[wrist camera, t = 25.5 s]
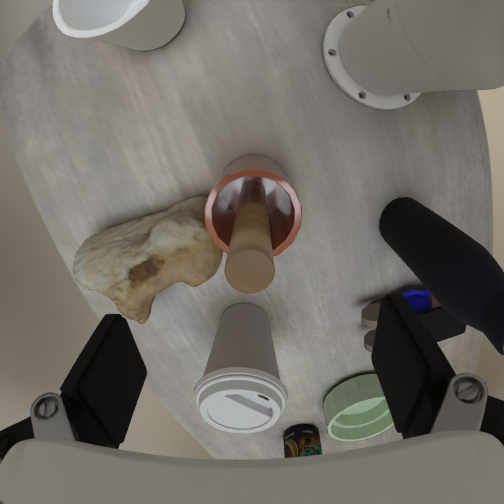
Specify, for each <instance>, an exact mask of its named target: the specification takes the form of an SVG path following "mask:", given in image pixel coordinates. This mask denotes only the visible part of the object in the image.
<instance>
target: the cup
mask: <svg viewBox="0 0 504 504" xmlns="http://www.w3.org/2000/svg"><path fill="white" fill-rule="evenodd" d="M53 18H54V20H55V22H56V24H57V27H58V28H59V29H60V30H61V31H62V32H63V33H64V34H65V35H69V36H72V37H75V38H82V39H87V40H93V41H98V42H103V43H108V44H113V45H117V46H122V47H126V48H130V49H134V50H140V51H148V50H153V49H156V48H159V47H162V46H163V45H165V44H166V43H168V42H169V41H171V40H172V39H174V38H175V37H176V36H177V34H178V33H179V31H180V29H181V27H182V25H183V23H184V20H185V11H184V6H183V3H182V1H181V0H54V2H53Z"/></svg>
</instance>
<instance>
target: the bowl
mask: <svg viewBox="0 0 504 504" xmlns="http://www.w3.org/2000/svg"><path fill="white" fill-rule="evenodd" d="M323 408H324V414H325V420H326V425H327V431H328V434H329V435H330V436H331V437H332V438H334V439H337V440H340V441H357V440H362V439H366V438H370V437H372V436H375V435H377V434H379V433H381V432H383V431H385V430H386V429H388V428H390V427H391V426H392V425H393V424H394V422H393V419H392V416H391V413H390V410H389V408H388V405H387V402H386V399H385V396H384V393H383V391H382V388H381V385H380V382H379V380H378V377H377V374H365V375H361V376H357V377H354V378H351V379H349V380H347V381H345V382H343V383H341V384H340V385H338V386H337V387H335V388H334V389H333V390H332V391H331V392H330V393H329V394H328V395H327V396H326V398H325V401H324V403H323Z"/></svg>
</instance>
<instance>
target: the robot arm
mask: <svg viewBox="0 0 504 504" xmlns="http://www.w3.org/2000/svg"><path fill="white" fill-rule="evenodd" d="M347 15H348V16H350V18H349V17H348V16H347ZM322 52H323V57H324V62H325V65H326V67H327V70H328V72H329V74H330V75H331V77H332V79H333V80H334V82H335V83H336V84H337V85H338V87H339V88H340V89H341V90H342V91H343V92H344V93H346V94H347V95H348V96H349V97H350V98H352V99H354V100H355V101H357V102H358V103H360V104H363V105H365V106H368V107H371V108H376V109H386V110H387V109H397V108H401V107H404V106H406V105H408V104H410V103H412V102H413V101H414V100H415V99H417V98H418V97H419V95H420V94H421V93H423V92H438V91H461V90H489V89H496V88H499V87H502V86H504V0H374V1H373V2H372V3H371V4H370V5H369V6H368V5H364V6H355V7H351V8H348V9H346V10H344V11H342V12H340V13H339V14H338V15H337V16H336V17H335V18H334V19H333V20H332V21H331V22H330V24H329V25H328V27H327V29H326V31H325V33H324V38H323V47H322ZM328 52H331V53H332V56H330V55H329V54H328ZM359 93H360V94H361V95H362V97H361V98H360V97H359V96H358V94H359ZM404 96H405V99H404ZM371 358H372V363H373V366H374V369H375V371H376V374H377V377H378V380H379V382H380V385H381V388H382V391H383V393H384V396H385V399H386V402H387V405H388V408H389V410H390V413H391V416H392V419H393V422H394V425H395V428H396V431H397V432H398V433H400V432H401V433H402V436H403V440H399V441H395V442H390V443H386V444H381V445H376V446H371V447H366V448H360V449H355V450H349V451H343V452H336V453H329V454H322V455H313V456H304V457H293V458H278V459H257V460H217V459H195V458H181V457H170V456H160V455H152V454H145V453H137V452H131V451H125V450H119V449H118V448H119V445H120V443H123V441H124V439H125V436H126V433H127V430H128V427H129V424H130V421H131V418H132V415H133V412H134V409H135V407H136V404H137V401H138V398H139V395H140V393H141V389H142V387H143V384H144V381H145V379H146V375H147V369H146V366H145V364H144V362H143V359H142V357H141V355H140V352H139V350H138V348H137V345H136V343H135V340H134V338H133V335H132V333H131V330H130V328H129V325H128V323H127V320H126V319H125V318H123V317H122V316H121V315H120V314H106V315H105V316H104V317H103V319H102V320H101V322H100V324H99V325H98V326H97V328H96V330H95V331H94V333H93V334H92V336H91V337H90V339H89V341H88V342H87V344H86V345H85V347H84V349H83V350H82V352H81V354H80V355H79V357H78V358H77V360H76V362H75V363H74V365H73V367H72V369H71V370H70V372H69V374H68V376H67V378H66V379H65V381H64V382H63V384H62V386H61V388H60V390H61V391H62V393H61V394H60V396H59V395H58V394H56V393H45V394H43V395H41V396H39V397H38V398H37V399H36V400H35V401H34V402H33V404H32V406H31V409H30V414H31V416H30V417H28V418H26V419H24V420H22V421H20V422H18V423H16V424H14V425H12V426H10V427H8V428H6V429H3V430H2V431H0V504H504V401H503V400H500V399H497V398H494V397H491V396H489V395H488V388H487V385H486V383H485V382H484V381H483V379H481V378H480V377H479V376H477V375H475V374H472V373H460V374H458V375H456V374H455V372H454V370H453V369H452V367H451V365H450V364H449V362H448V360H447V359H446V357H445V355H444V354H443V352H442V350H441V349H440V347H439V346H438V344H437V342H436V341H435V339H434V338H433V336H432V334H431V333H430V331H429V330H428V328H427V327H426V326H424V325H423V324H422V323H421V321H420V320H419V318H418V317H417V315H416V314H415V312H414V311H413V309H412V308H411V306H410V305H409V303H408V302H407V300H406V299H405V297H404V296H403V295H402V294H401V293H398V294H391V295H386V297H385V299H384V300H381V302H380V308H379V315H378V321H377V327H376V333H375V338H374V344H373V349H372V355H371ZM411 437H412V438H411Z"/></svg>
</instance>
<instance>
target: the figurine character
mask: <svg viewBox="0 0 504 504" xmlns="http://www.w3.org/2000/svg"><path fill="white" fill-rule="evenodd" d="M413 294H414V295H418V296H413V297H409V296H411V295H413ZM402 295H403V296H404V297H405V299H406V300H407V302H408V303H409V305H410V306H411V308H412V309H413V311H414V312H415V314H416V315H417V317H418V318H419V320H420V321H421V323H422V324H423V325H424V326H426V327H427V328H428V330H429V331H430V333H431V334H432V336H433V338H434V339H435V341H436V342H439V341H442V340H445V339H448V338H451V337H454V336H457V335H460V334H463V333H465V329H466V325H467V324H465V323H463V322H462V321H461V320H459V319H458V318H456V317H455V316H453V315H452V314H451V313H449V312H448V311H447V310H446V309H444V308H443V307H442V306H441V305H440V304H439V303H438V301H437V300H436V299H435V298H434V296H433V295H432V294H431V293H430V292H429V290H428V289H425V290H424V291H421V290H416V289H412V290H409V291H407V292H405V293H402ZM406 297H409V298H406ZM384 299H385V298H383V300H384ZM380 302H381V301H376V302H373V303H371V304H370V305H368V306H366V307H365V308H364V309H363V310H362V323H363V324H364V325H365V326H367V327H370V328H376V327H377V321H378V315H379V308H380ZM375 333H376V329H375V330H372V331H370V332H368V333H367V334H366V335H365V337H364V346H365V349H366V350H368V351H369V352H372V349H373V344H374V338H375Z"/></svg>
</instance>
